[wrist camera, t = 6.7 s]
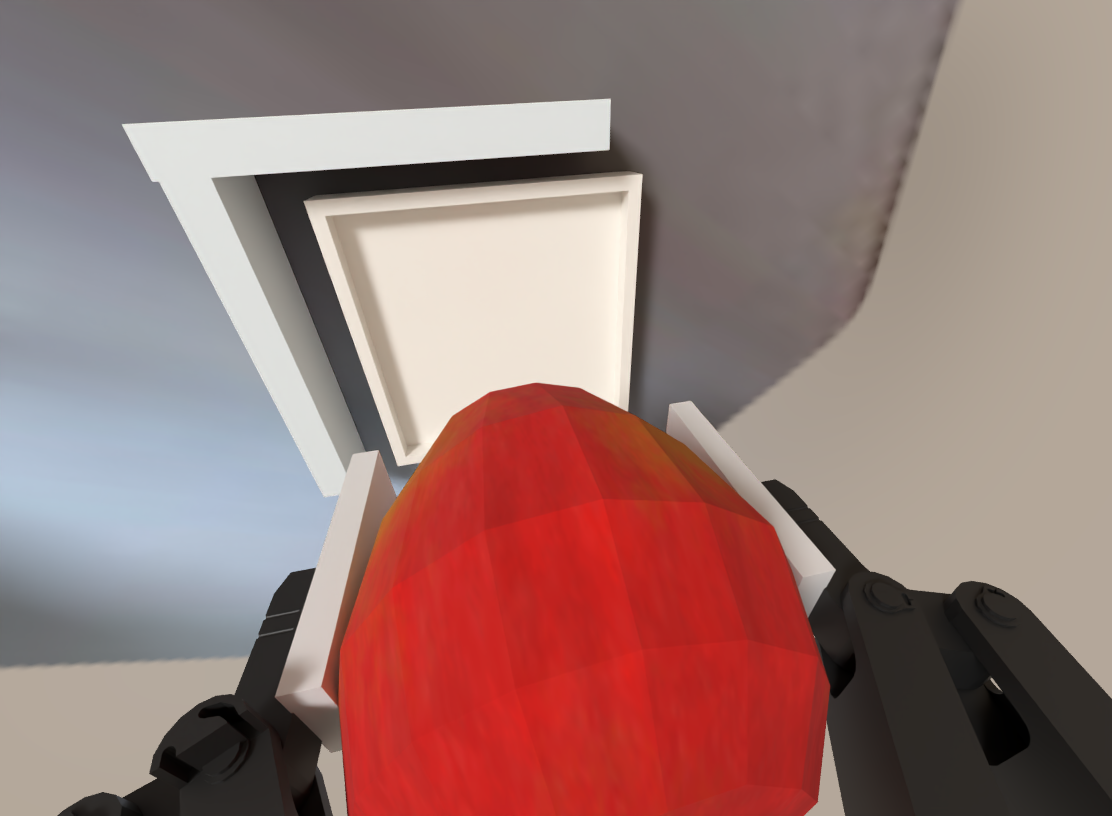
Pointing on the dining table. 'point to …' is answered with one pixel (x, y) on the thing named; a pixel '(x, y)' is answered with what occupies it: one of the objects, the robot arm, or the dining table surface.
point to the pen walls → (257, 253)
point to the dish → (483, 291)
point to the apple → (576, 630)
